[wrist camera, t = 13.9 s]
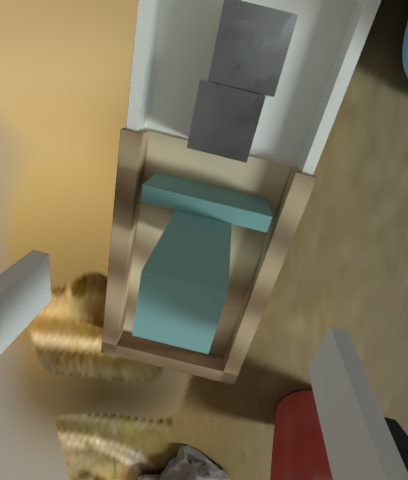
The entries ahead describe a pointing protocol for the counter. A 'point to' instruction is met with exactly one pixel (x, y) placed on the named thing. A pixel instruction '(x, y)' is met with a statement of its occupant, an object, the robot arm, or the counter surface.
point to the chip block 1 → (251, 47)
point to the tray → (274, 108)
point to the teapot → (405, 51)
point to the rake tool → (191, 259)
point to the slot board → (241, 254)
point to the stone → (188, 467)
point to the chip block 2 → (224, 120)
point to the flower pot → (299, 440)
